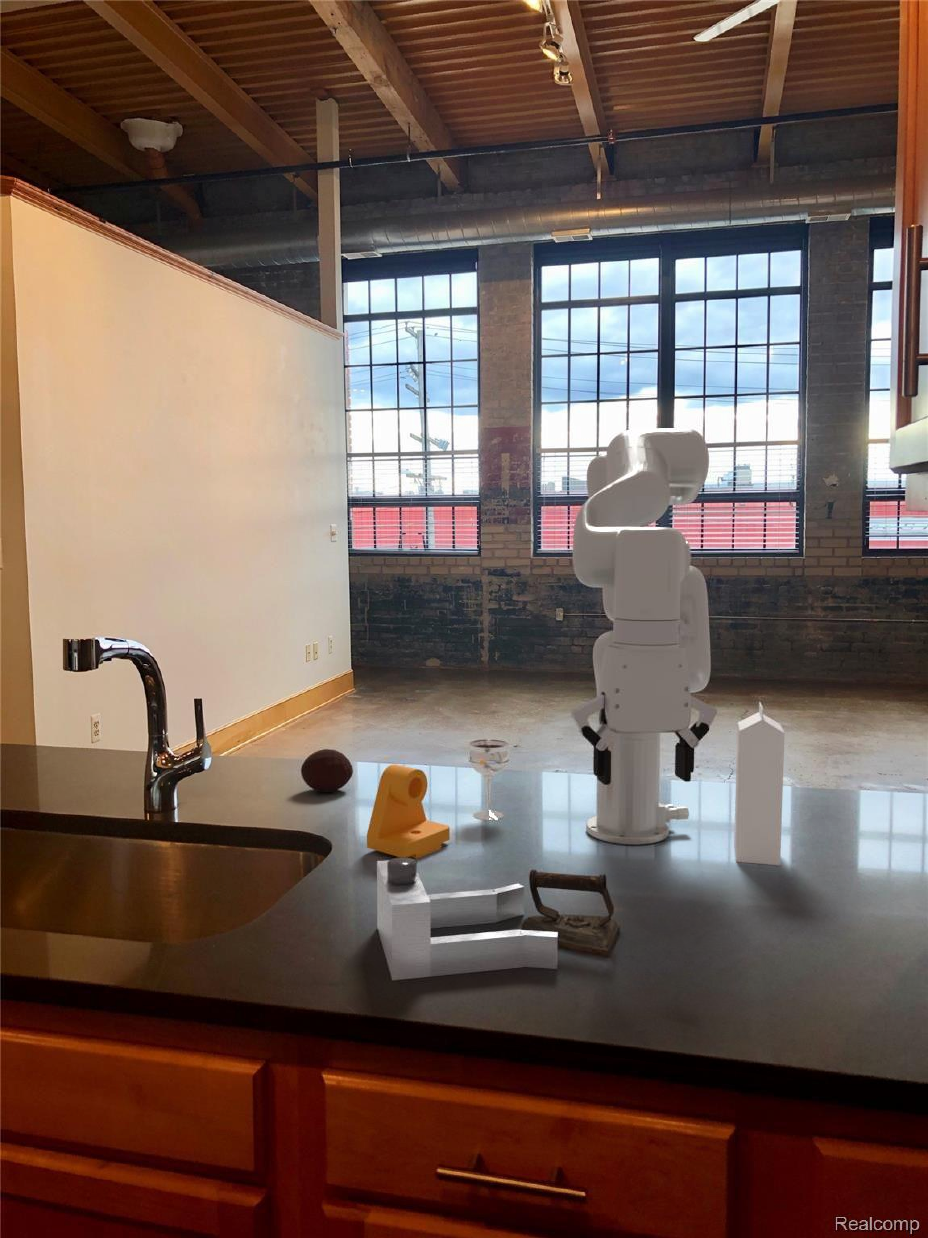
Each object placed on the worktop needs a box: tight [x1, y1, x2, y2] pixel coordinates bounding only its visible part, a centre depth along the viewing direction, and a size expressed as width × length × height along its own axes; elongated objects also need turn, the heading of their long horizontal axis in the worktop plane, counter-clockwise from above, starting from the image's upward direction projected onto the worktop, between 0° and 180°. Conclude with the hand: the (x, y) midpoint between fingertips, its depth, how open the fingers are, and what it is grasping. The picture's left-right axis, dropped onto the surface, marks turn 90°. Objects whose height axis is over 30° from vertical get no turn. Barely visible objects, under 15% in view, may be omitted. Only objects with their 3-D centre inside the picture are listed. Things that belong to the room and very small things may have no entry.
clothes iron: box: [520, 869, 621, 958], centre depth 103 cm, size 7×11×10 cm, turn 71°
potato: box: [300, 748, 354, 793], centre depth 163 cm, size 8×9×8 cm
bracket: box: [366, 764, 451, 860], centre depth 133 cm, size 11×7×12 cm, turn 142°
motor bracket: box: [376, 857, 559, 981], centre depth 101 cm, size 18×15×10 cm
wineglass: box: [467, 738, 510, 821], centre depth 149 cm, size 7×7×12 cm
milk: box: [733, 701, 785, 866], centre depth 129 cm, size 6×6×22 cm
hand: (643, 780), depth 106 cm, fingers open, 9 cm apart
